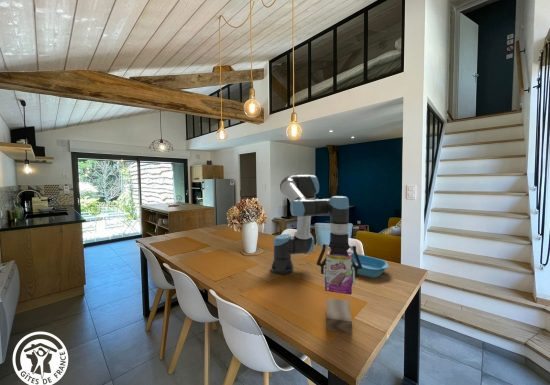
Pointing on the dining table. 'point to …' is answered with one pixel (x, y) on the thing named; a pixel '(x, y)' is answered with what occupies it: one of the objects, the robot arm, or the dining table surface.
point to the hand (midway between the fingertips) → (338, 282)
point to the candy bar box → (338, 273)
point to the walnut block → (338, 316)
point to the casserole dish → (370, 265)
